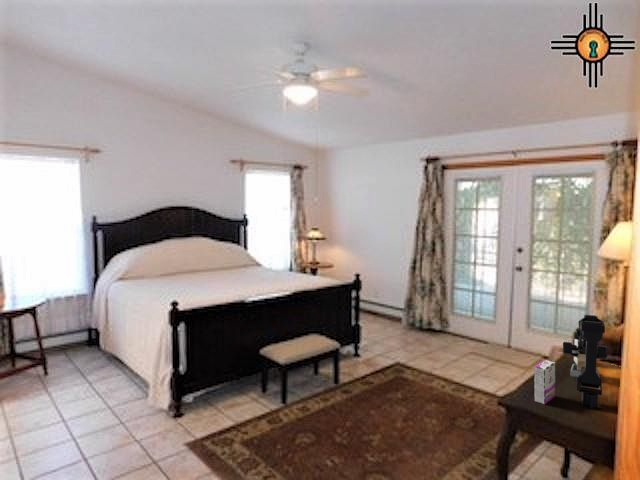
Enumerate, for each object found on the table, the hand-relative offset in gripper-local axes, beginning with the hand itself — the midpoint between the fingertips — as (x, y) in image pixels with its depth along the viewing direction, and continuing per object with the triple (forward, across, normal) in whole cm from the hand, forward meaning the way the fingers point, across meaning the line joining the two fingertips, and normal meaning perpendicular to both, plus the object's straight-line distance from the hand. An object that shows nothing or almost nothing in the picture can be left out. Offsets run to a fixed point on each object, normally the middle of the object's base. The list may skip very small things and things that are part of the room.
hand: (583, 357), depth 218 cm
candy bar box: (-20, +18, +33) cm, 42 cm away
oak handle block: (+4, 0, +6) cm, 7 cm away
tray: (+5, 0, +7) cm, 9 cm away
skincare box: (+18, -1, -5) cm, 18 cm away
